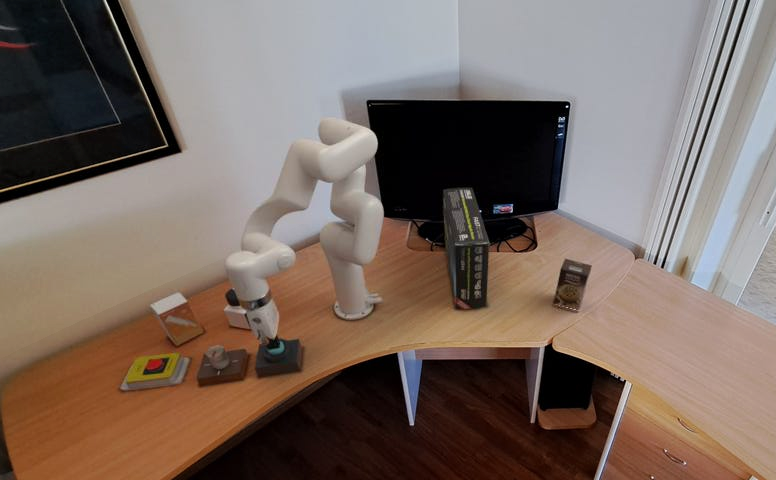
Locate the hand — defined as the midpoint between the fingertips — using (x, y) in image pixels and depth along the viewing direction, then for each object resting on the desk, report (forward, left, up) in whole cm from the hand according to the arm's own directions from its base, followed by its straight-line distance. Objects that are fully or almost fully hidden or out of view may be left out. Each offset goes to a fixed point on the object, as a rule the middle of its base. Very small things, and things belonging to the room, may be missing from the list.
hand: (274, 346), depth 124 cm
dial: (+15, 0, -4) cm, 15 cm away
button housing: (0, 0, -7) cm, 7 cm away
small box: (+29, -17, -7) cm, 34 cm away
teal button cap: (0, 0, -2) cm, 2 cm away
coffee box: (-92, -8, -7) cm, 93 cm away
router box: (-60, -29, -7) cm, 67 cm away
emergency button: (+33, -2, -7) cm, 34 cm away
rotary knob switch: (+15, 0, -7) cm, 16 cm away
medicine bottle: (+12, -20, -7) cm, 24 cm away
